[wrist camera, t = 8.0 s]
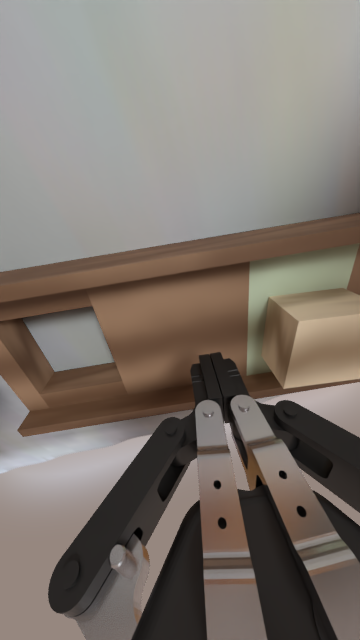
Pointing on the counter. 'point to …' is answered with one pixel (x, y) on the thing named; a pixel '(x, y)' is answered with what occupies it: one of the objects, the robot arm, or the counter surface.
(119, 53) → the counter surface
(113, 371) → the walnut track
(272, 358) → the maple block
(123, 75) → the counter surface
